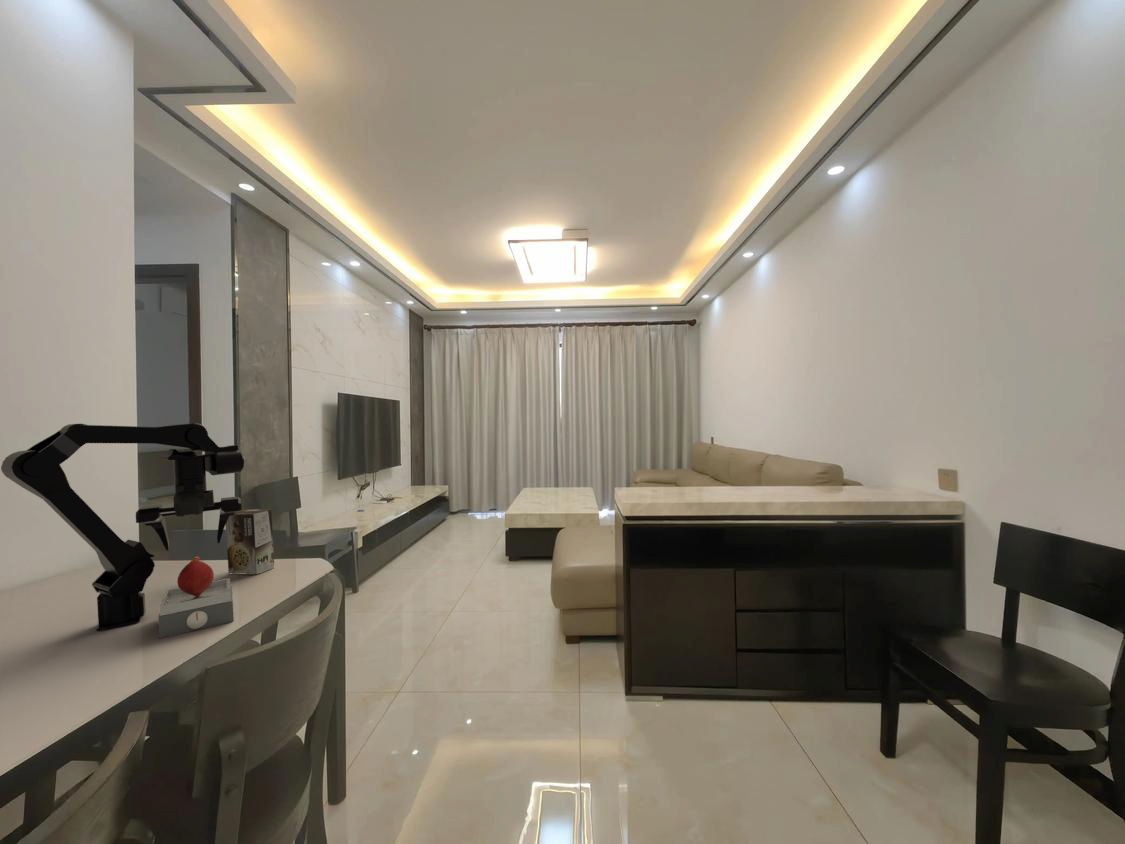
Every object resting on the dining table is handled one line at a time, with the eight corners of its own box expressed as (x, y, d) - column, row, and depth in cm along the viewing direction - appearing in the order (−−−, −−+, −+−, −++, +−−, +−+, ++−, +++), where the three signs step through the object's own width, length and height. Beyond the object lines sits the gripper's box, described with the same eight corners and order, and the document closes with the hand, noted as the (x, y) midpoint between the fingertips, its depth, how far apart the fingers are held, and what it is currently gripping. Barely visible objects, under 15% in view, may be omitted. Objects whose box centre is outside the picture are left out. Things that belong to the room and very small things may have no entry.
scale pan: (160, 616, 90) (159, 606, 90) (165, 598, 99) (165, 590, 99) (231, 601, 97) (230, 592, 97) (230, 586, 106) (229, 578, 106)
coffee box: (275, 567, 132) (272, 508, 132) (256, 575, 126) (253, 513, 125) (247, 566, 134) (244, 508, 133) (226, 574, 127) (223, 513, 127)
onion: (184, 603, 94) (182, 563, 94) (174, 598, 97) (172, 559, 97) (219, 593, 99) (217, 555, 99) (208, 589, 102) (206, 551, 102)
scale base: (158, 639, 90) (157, 618, 90) (165, 618, 100) (164, 599, 99) (233, 622, 96) (232, 602, 96) (232, 603, 106) (231, 585, 106)
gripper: (129, 486, 98) (133, 563, 98) (240, 477, 108) (243, 546, 108) (138, 481, 107) (142, 551, 107) (239, 473, 117) (242, 536, 118)
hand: (193, 546), depth 110 cm, fingers open, 9 cm apart
